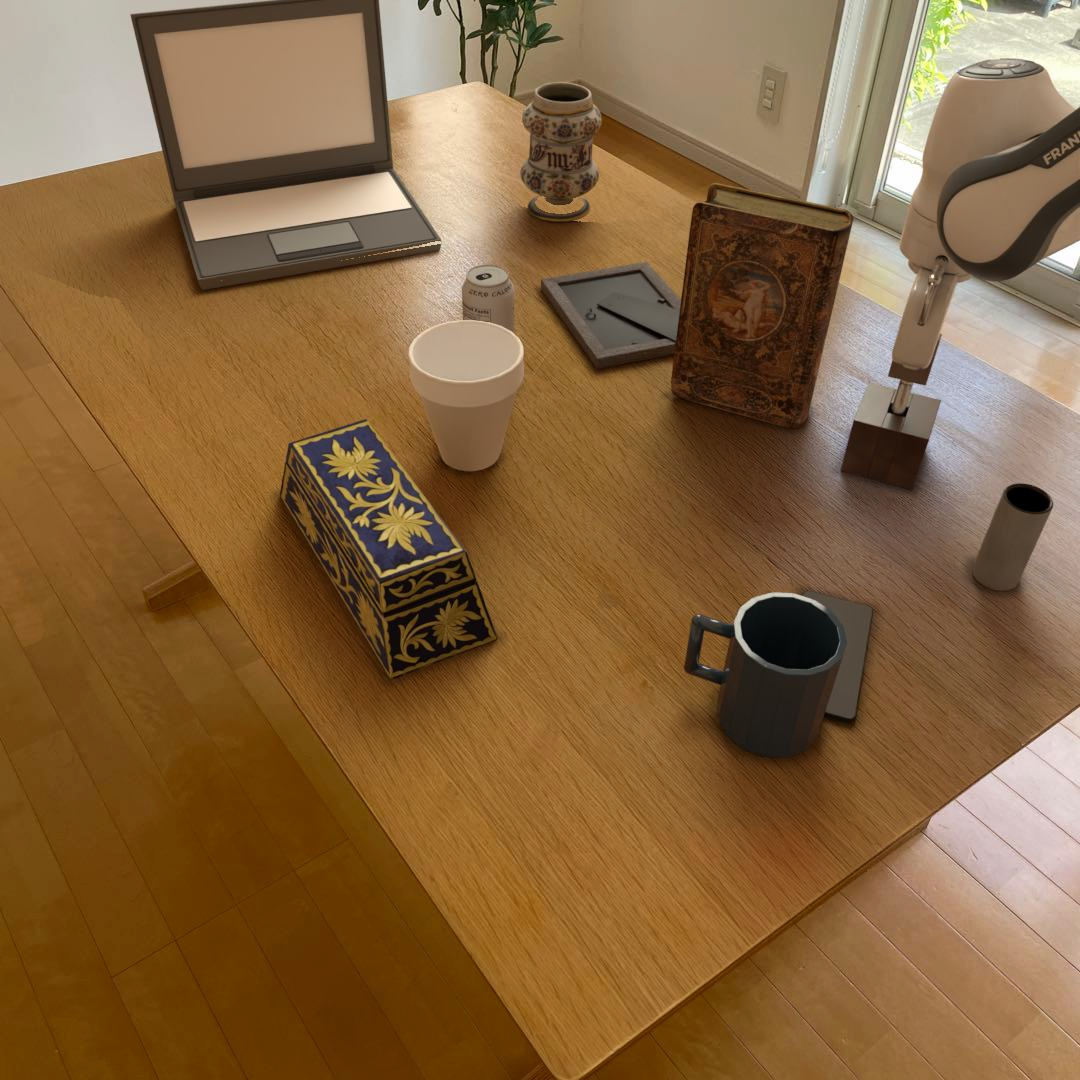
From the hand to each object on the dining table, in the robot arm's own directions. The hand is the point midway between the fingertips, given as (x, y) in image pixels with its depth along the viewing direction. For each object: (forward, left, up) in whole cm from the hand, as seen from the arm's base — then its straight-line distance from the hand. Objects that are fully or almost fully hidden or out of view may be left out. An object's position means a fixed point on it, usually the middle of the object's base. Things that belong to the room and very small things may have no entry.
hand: (913, 358), depth 110 cm
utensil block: (0, 0, -14) cm, 14 cm away
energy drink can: (+47, +6, -14) cm, 49 cm away
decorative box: (+43, +39, -14) cm, 60 cm away
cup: (+43, +19, -14) cm, 49 cm away
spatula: (0, 0, -14) cm, 14 cm away
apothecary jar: (+59, -42, -14) cm, 74 cm away
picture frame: (+38, -16, -14) cm, 44 cm away
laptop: (+91, -19, -14) cm, 94 cm away
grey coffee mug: (+4, +41, -14) cm, 43 cm away
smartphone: (-1, +32, -14) cm, 35 cm away
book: (+18, -4, -14) cm, 23 cm away
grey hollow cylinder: (-14, +14, -14) cm, 24 cm away
